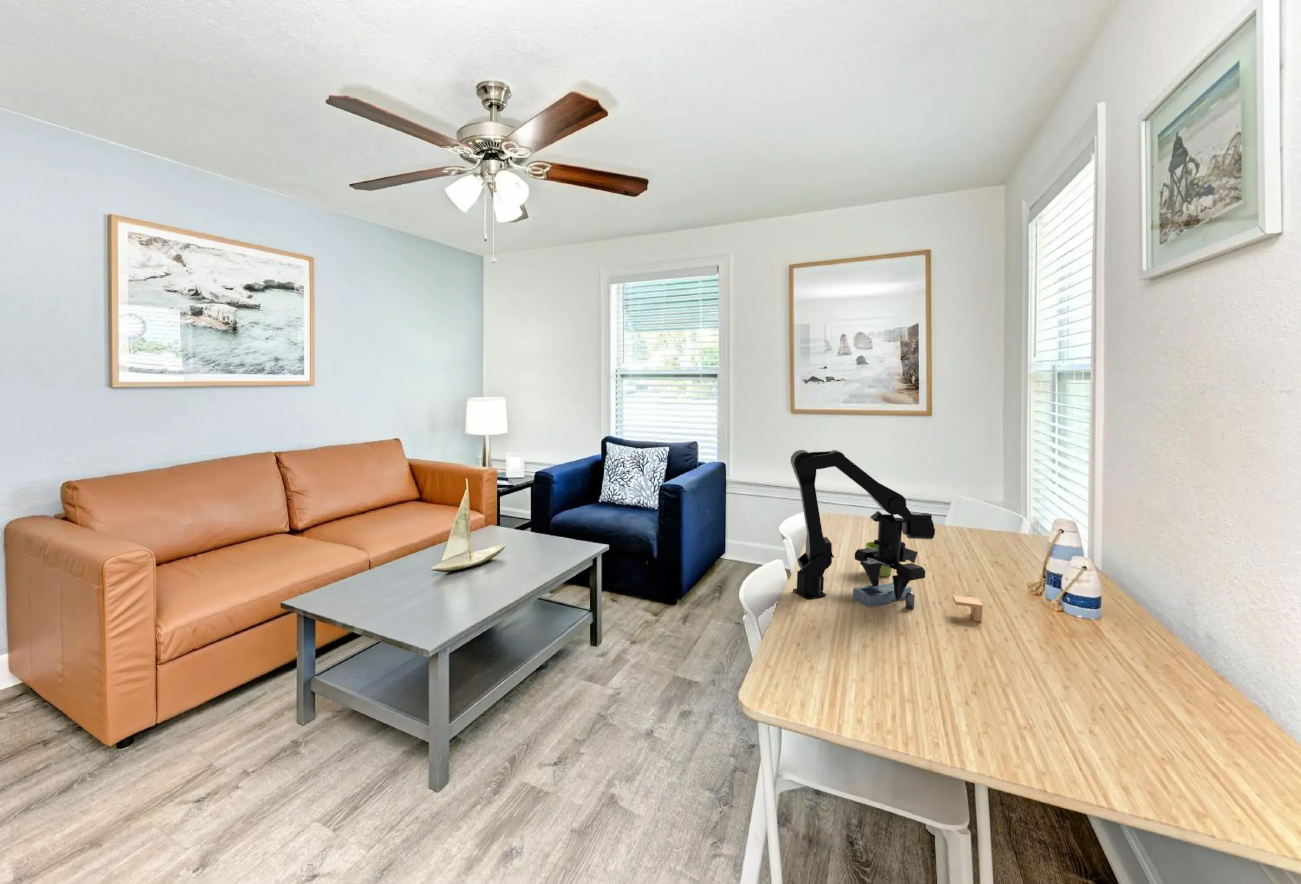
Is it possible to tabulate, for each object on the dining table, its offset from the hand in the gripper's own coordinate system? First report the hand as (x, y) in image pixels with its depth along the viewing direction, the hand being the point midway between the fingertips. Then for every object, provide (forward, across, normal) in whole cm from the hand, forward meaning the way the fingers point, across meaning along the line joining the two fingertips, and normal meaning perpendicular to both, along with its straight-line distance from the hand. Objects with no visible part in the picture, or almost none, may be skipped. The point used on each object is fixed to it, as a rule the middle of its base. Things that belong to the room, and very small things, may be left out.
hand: (886, 594), depth 140 cm
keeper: (+1, -15, -9) cm, 18 cm away
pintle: (+1, -7, 0) cm, 7 cm away
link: (+1, 0, +1) cm, 2 cm away
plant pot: (+1, +15, -14) cm, 20 cm away
